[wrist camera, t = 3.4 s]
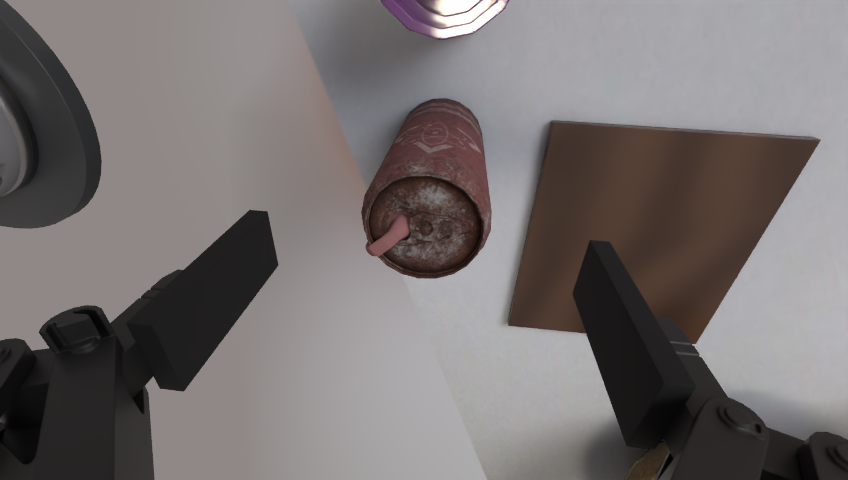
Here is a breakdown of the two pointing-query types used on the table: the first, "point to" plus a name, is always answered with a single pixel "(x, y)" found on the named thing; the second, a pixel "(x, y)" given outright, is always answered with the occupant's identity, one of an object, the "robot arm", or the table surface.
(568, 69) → the table surface
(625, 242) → the placemat
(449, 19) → the purple faceted cup
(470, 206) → the can
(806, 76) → the table surface
